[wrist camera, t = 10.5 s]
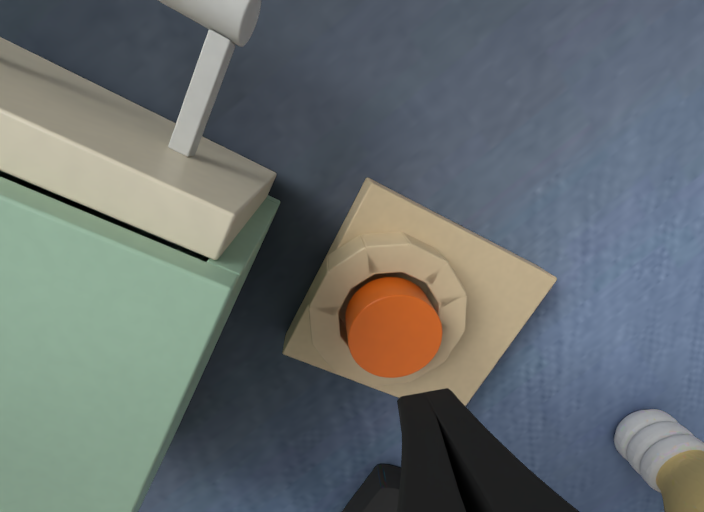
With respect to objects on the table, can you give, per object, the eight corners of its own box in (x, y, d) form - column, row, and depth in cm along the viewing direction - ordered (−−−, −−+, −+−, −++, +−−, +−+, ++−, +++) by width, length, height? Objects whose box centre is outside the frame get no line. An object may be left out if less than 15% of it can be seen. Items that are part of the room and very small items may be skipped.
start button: (330, 334, 15) (331, 359, 14) (370, 262, 14) (376, 279, 13) (403, 364, 16) (412, 390, 14) (445, 297, 15) (461, 317, 14)
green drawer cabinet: (-15, 60, 14) (-650, -67, 5) (281, 201, 16) (232, 289, 7) (-73, 359, 18) (-487, 601, 9) (174, 434, 20) (57, 680, 11)
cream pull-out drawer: (17, -119, 12) (-511, -548, 4) (326, 61, 14) (333, -13, 7) (-71, 335, 16) (-391, 505, 9) (171, 412, 19) (74, 595, 11)
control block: (280, 333, 19) (271, 377, 15) (361, 174, 16) (371, 185, 13) (446, 397, 21) (469, 448, 18) (538, 265, 19) (585, 295, 15)
